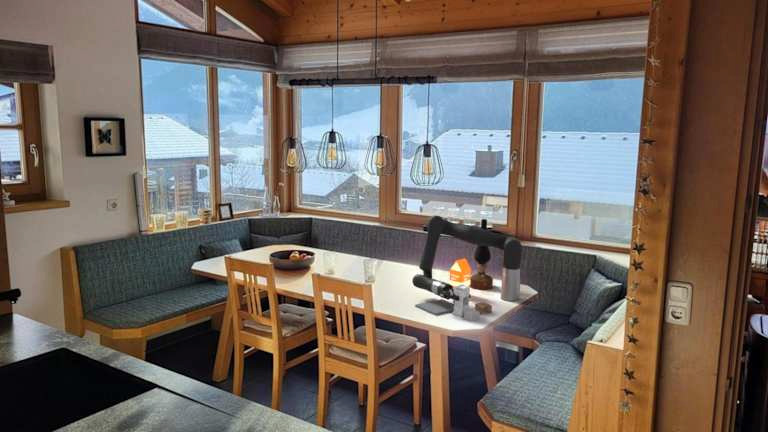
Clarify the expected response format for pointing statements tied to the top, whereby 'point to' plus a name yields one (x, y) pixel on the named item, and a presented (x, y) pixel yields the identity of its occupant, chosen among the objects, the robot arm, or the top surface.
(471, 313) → the grey plastic block
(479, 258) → the oil lamp
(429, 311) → the charcoal mat
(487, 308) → the walnut block
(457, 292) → the syrup box
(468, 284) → the orange juice
